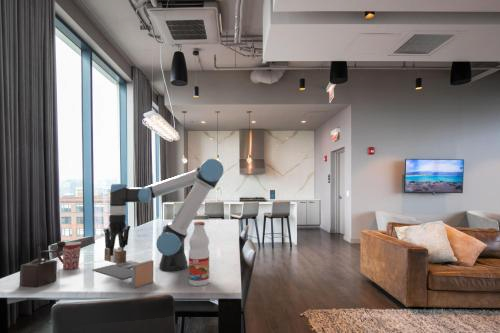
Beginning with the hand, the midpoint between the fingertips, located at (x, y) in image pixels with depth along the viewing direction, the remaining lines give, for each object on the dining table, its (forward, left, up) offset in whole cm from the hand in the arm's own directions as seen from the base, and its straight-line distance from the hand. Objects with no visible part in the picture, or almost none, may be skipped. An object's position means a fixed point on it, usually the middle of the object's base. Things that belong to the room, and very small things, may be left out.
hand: (116, 261), depth 146 cm
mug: (+6, -37, -8) cm, 38 cm away
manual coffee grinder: (+23, -23, -8) cm, 33 cm away
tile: (0, +21, -8) cm, 23 cm away
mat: (-5, -7, -8) cm, 11 cm away
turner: (0, +4, 0) cm, 4 cm away
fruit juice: (-16, +41, -8) cm, 45 cm away
